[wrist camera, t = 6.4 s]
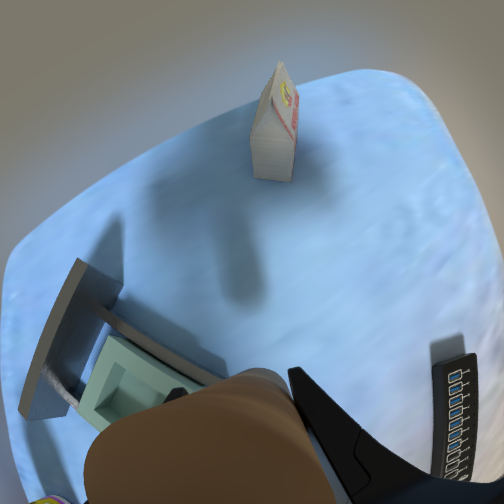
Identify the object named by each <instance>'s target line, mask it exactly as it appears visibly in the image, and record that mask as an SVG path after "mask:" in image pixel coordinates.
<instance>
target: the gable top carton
mask: <svg viewBox="0 0 504 504" xmlns="http://www.w3.org/2000/svg"><path fill="white" fill-rule="evenodd" d="M298 112H299V93H298V91H297V90H296V88H295V86H294V84H293V82H292V81H291V79H290V77H289V76H288V73H287V71H286V69H285V66H284V63H283V61H282V62H281V63H280V64H279V61H278V65H277V67H276V69H275V71H274V73H273V75H272V77H271V78H270V80H269V82H268V84H267V85H266V86H265V88H264V90H263V91H262V94H261V97H260V101H259V104H258V108H257V111H256V115H255V119H254V122H253V126H252V129H251V133H250V137H249V139H250V147H251V155H252V163H253V172H254V178H259V179H268V180H277V181H285V182H291V178H292V171H293V163H294V156H295V148H296V140H297V129H298Z"/></svg>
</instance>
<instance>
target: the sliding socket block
mask: <svg viewBox="0 0 504 504" xmlns="http://www.w3.org/2000/svg"><path fill="white" fill-rule="evenodd" d="M176 387H184V388H185V389H186V390H187V392H188V393H189V394H191V393H193V392H196V391H198V390H201V389H203V388H205V385H204V384H202V383H200V382H198V381H196V380H194V379H193V378H191V377H189V376H187V375H186V374H184V373H182V372H180V371H179V370H177V369H175V368H174V367H172V366H170V365H169V364H167V363H165V362H164V361H162V360H160V359H159V358H157V357H156V356H154V355H152V354H151V353H149V352H148V351H146V350H145V349H143V348H142V347H140V346H139V345H137V344H136V343H134V342H133V341H131V340H130V339H126V338H121V337H116V336H110V335H108V338H107V340H106V342H105V344H104V346H103V348H102V351H101V353H100V355H99V357H98V359H97V362H96V364H95V366H94V369H93V371H92V373H91V376H90V378H89V380H88V383H87V385H86V388H85V390H84V393H83V395H82V398H81V400H80V403H79V406H78V408H77V411H76V412H77V413H78V414H79V415H80V416H81V417H83V418H84V419H85V420H86V421H87V422H88V423H89V424H91V425H92V426H93V427H94V428H95V429H96V430H98V431H99V432H100V433H101V432H102V431H103V430H104V429H105V428H107V427H108V426H109V425H111V424H112V423H114V422H116V421H117V420H119V419H121V418H124V417H126V416H129V415H131V414H134V413H137V412H140V411H143V410H146V409H149V408H152V407H155V406H158V405H161V404H162V403H163V401H164V400H165V398H166V397H167V395H168V394H169V393H170V391H171V390H172V389H173V388H176Z"/></svg>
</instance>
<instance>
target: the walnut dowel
mask: <svg viewBox="0 0 504 504" xmlns="http://www.w3.org/2000/svg"><path fill="white" fill-rule="evenodd" d="M83 474H84V486H85V491H86V496H87V499H88V501H89V504H337V503H336V499H335V495H334V492H333V490H332V488H331V486H330V484H329V481H328V479H327V477H326V475H325V472H324V470H323V468H322V466H321V463H320V461H319V459H318V457H317V454H316V452H315V450H314V447H313V445H312V443H311V441H310V438H309V436H308V434H307V431H306V429H305V427H304V424H303V422H302V420H301V417H300V415H299V413H298V411H297V408H296V406H295V404H294V401H293V399H292V396H291V394H290V392H289V389H288V387H287V385H286V383H285V381H284V380H283V379H282V377H280V376H279V375H278V374H277V373H275V372H273V371H271V370H269V369H265V368H251V369H248V370H245V371H243V372H241V373H238V374H236V375H234V376H232V377H229V378H227V379H225V380H222V381H220V382H218V383H215V384H213V385H211V386H208V387H206V388H203V389H201V390H198V391H196V392H193V393H191V394H188V395H185V396H183V397H180V398H178V399H175V400H172V401H169V402H167V403H164V404H161V405H158V406H155V407H152V408H149V409H146V410H143V411H140V412H137V413H134V414H131V415H129V416H126V417H124V418H121V419H119V420H117V421H116V422H114V423H112V424H111V425H109V426H108V427H107V428H105V429H104V430H103V431H102V432H101V433H100V434H99V435H98V436H97V437H96V439H95V440H94V441H93V443H92V445H91V447H90V448H89V450H88V453H87V456H86V459H85V464H84V473H83Z"/></svg>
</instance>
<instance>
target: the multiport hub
mask: <svg viewBox="0 0 504 504" xmlns="http://www.w3.org/2000/svg"><path fill="white" fill-rule="evenodd" d="M432 380H433V403H434V430H433V453H432V465H431V475H433V476H436V477H441V478H446V479H453V480H460V481H468V482H470V480H471V478H472V472H473V466H474V459H475V451H476V441H477V429H478V367H477V355H476V354H475V353H468V354H461V355H459V356H456V357H453V358H451V359H448V360H445V361H442V362H439V363H436V364H434V365H433V367H432Z"/></svg>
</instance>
